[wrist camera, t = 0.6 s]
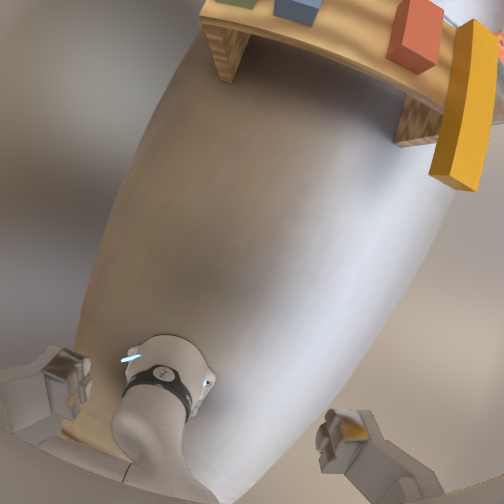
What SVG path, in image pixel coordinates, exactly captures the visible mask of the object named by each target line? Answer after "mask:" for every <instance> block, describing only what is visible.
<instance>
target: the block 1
mask: <svg viewBox="0 0 504 504" xmlns="http://www.w3.org/2000/svg"><path fill="white" fill-rule="evenodd" d="M215 2H216V3H222V4H227V5H232V6H237V7H242V8H246V9H251V10H253V9H254V7H255V5H256V2H257V0H215Z"/></svg>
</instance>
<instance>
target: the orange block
mask: <svg viewBox="0 0 504 504" xmlns="http://www.w3.org/2000/svg"><path fill="white" fill-rule="evenodd" d="M497 67H498V37H497V36H496V35H494V34H493V33H492V32H491V31H489V30H488V29H487V28H486V27H484V26H483V25H482V24H480V23H479V22H478V21H477V20H475V19H472V20H470V21H469V22H467V23H465V24H464V25H462V26H460V27H459V28H457V29H456V36H455V46H454V54H453V62H452V69H451V75H450V82H449V88H448V93H447V99H446V104H445V109H444V114H443V118H442V123H441V128H440V132H439V136H438V140H437V144H436V148H435V152H434V156H433V160H432V164H431V167H430V171H429V175H430V176H432V177H433V178H435V179H437V180H439V181H441V182H443V183H444V184H446V185H448V186H450V187H451V188H453V189H455V190H463V191H471V192H477V190H478V185H479V182H480V178H481V174H482V170H483V165H484V161H485V156H486V151H487V146H488V141H489V135H490V129H491V123H492V116H493V109H494V101H495V92H496V81H497Z"/></svg>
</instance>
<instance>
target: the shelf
mask: <svg viewBox="0 0 504 504" xmlns="http://www.w3.org/2000/svg"><path fill="white" fill-rule="evenodd" d="M402 1H403V0H322V3H321V6H320V9H319V11H318V13H317V16H316V18H315V20H314V23H313V25H312V27H310V26H307V25H304V24H301V23H298V22H295V21H292V20H288V19H285V18H282V17H278V16H275V15H273V10H274V3H275V0H257V2H256V5H255V7H254V9H253V10H251V9H246V8H242V7H237V6H232V5H227V4H222V3H216V2H215V0H206V2H205V4H204V6H203V8H202V10H201V12H200V14H199V17H200V20H201V22H202V26H203V29H204V32H205V35H206V38H207V41H208V44H209V47H210V50H211V53H212V56H213V59H214V62H215V65H216V68H217V71H218V74H219V77H220V80H221V81H224V82H228V83H232V81H233V79H234V76H235V73H236V71H237V68H238V66H239V63H240V60H241V58H242V55H243V53H244V50H245V48H246V45H247V43H248V40H249V38H250V36H251V34H253V35H257V36H261V37H265V38H268V39H272V40H275V41H279V42H282V43H285V44H288V45H291V46H295V47H298V48H301V49H304V50H306V51H309V52H312V53H315V54H318V55H320V56H323V57H326V58H328V59H331V60H334V61H336V62H339V63H341V64H343V65H346V66H348V67H351V68H353V69H355V70H358V71H360V72H362V73H364V74H367V75H369V76H371V77H373V78H375V79H377V80H379V81H382V82H384V83H386V84H388V85H390V86H392V87H394V88H396V89H398V90H399V91H401V92H403V93H405V94H406V97H405V101H404V105H403V109H402V113H401V117H400V120H399V124H398V128H397V132H396V135H395V139H394V142H393V143H394V144H395V145H398V146H400V147H402V148H403V147H410V146H417V145H424V144H431V143H437V140H438V136H439V132H440V128H441V123H442V118H443V114H444V109H445V104H446V99H447V93H448V88H449V82H450V75H451V69H452V62H453V54H454V46H455V36H456V29H455V28H454V27H452V26H451V25H449V24H447V23H446V22H444V21H443V25H442V33H441V41H440V48H439V55H438V61H437V65H436V66H434V67H432V68H430V69H428V70H427V71H425V72H423V73H421V74H419V75H417V74H415V73H414V72H412V71H410V70H408V69H406V68H404V67H402V66H401V65H399V64H397V63H395V62H393V61H391V60H389V59H387V58H386V54H387V50H388V46H389V42H390V37H391V33H392V28H393V24H394V19H395V15H396V10H397V6H398V5H399V4H400V3H401V2H402Z"/></svg>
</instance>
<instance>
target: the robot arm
mask: <svg viewBox="0 0 504 504" xmlns="http://www.w3.org/2000/svg"><path fill="white" fill-rule="evenodd" d="M121 361H122V362H124V361H128V363H129V365H128V368H127V370H126V373H125V374H126V375H127V384H126V386H125V389H124V392H123V396H122V401H121V403H120V405H119V407H118V409H117V410H116V412H115V414H114V416H113V418H112V421H111V432H112V436H113V438H114V440H115V442H116V444H117V446H118V447H119V449H120V450H121V451H122V452H123V453H124V454H125V455H126V456H127V457H128V458H129V459H130V460H132V461H133V463H129V462H127V461H124V460H121V459H119V458H116V457H114V456H111V455H109V454H107V453H104V452H102V451H100V450H97V449H95V448H93V447H90V446H88V445H86V444H82V443H79V442H76V441H72V440H69V439H65V438H61V437H58V436H52V437H49V438H47V439H45V440H43V441H42V442H40V443H39V444H38V445H37V446H34V445H32V444H30V443H29V442H27V441H25V440H23V439H21V438H19V437H18V436H16V435H15V434H14V432H16V431H18V430H20V429H22V428H24V427H26V426H29V425H31V424H33V423H35V422H37V421H39V420H41V419H44V418H46V417H48V416H50V415H52V413H53V414H55V415H57V416H60V417H62V418H64V419H67V420H69V421H72V422H73V421H74V420H75V418H76V417H77V415H78V414H79V412H80V411H81V407H80V404H82V403H85V402H86V401H87V400H88V398H89V396H90V393H91V390H92V377H91V375H90V374H89V370H90V369H91V360H90V359H89V358H88V357H86V356H83V355H81V354H78V353H76V352H73V351H71V350H68V349H66V348H63V347H60V346H58V345H56V344H50V345H49V346H48V347H47V348H46V349H45V350H44V351H43V352H42V353H41V354H40V355H38V356H37V357H36V358H35V359H34V360H33V361H32V362H31V363H30V364H29V365H26V364H23V365H19V366H15V367H10V368H5V369H1V370H0V504H220V503H219V501H218V500H217V498H216V496H215V495H214V494H213V493H212V492H211V491H210V490H209V489H207V488H206V487H205V486H204V485H203V484H201V483H200V482H199V481H198V480H197V478H196V477H195V476H194V475H193V474H192V472H191V471H190V469H189V468H188V466H187V464H186V462H185V460H184V457H183V454H182V436H183V430H184V425H185V424H186V423H187V421H188V420H189V419H190V418H191V417H196V416H197V414H198V411H199V408H198V407H200V405H201V403H202V401H203V399H204V398H205V396H206V395H207V393H208V392H209V390H210V389H211V387H212V386H213V384H214V383H215V381H216V378H217V377H216V375H215V373H214V372H213V371H212V370H211V369H210V368H209V367H208V366H207V364H206V362H205V359H204V357H203V355H202V354H201V352H200V351H199V350H198V349H197V348H196V347H195V346H194V345H193V344H191V343H190V342H188V341H186V340H184V339H182V338H180V337H176V336H172V335H159V336H155V337H152V338H150V339H148V340H147V341H146V342H144V343H143V344H141V345H136V346H132V347H130V348H129V350H128V358H124V359H122V360H121ZM206 381H209V382H206ZM325 420H326V422H325V423H323V424H322V425H320V427H319V429H318V432H317V435H316V449H317V451H318V452H319V453H321V454H322V455H321V456H320V458H319V462H320V467H321V472H322V473H330V474H344V475H345V476H346V477H347V478H348V479H349V481H350V482H351V483H352V484H353V485H354V486H355V487H356V488H357V489H358V490H359V491H360V492H361V493H362V494H363V496H365V498H366V499H367V500H368V501H369V502H370V503H371V504H504V474H503V475H500V476H498V477H496V478H493V479H490V480H488V481H485V482H482V483H479V484H476V485H473V486H470V487H467V488H464V489H460V490H457V491H453V492H450V493H446V494H445V493H444V491H443V489H442V487H441V485H440V483H439V481H438V479H437V477H436V475H435V473H434V471H432V470H431V469H429V468H428V467H426V466H424V465H423V464H422V463H420V462H419V461H417V460H416V459H414V458H413V457H412V456H410V455H409V454H407V453H406V452H404V451H403V450H401V449H400V448H399V447H397V446H396V445H394V444H393V443H392V442H390V441H389V440H384V438H383V436H382V433H381V431H380V429H379V427H378V425H377V422H376V421H375V418H374V416H373V414H372V412H371V411H370V410H344V409H329V410H328V411H327V413H326V415H325Z"/></svg>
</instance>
